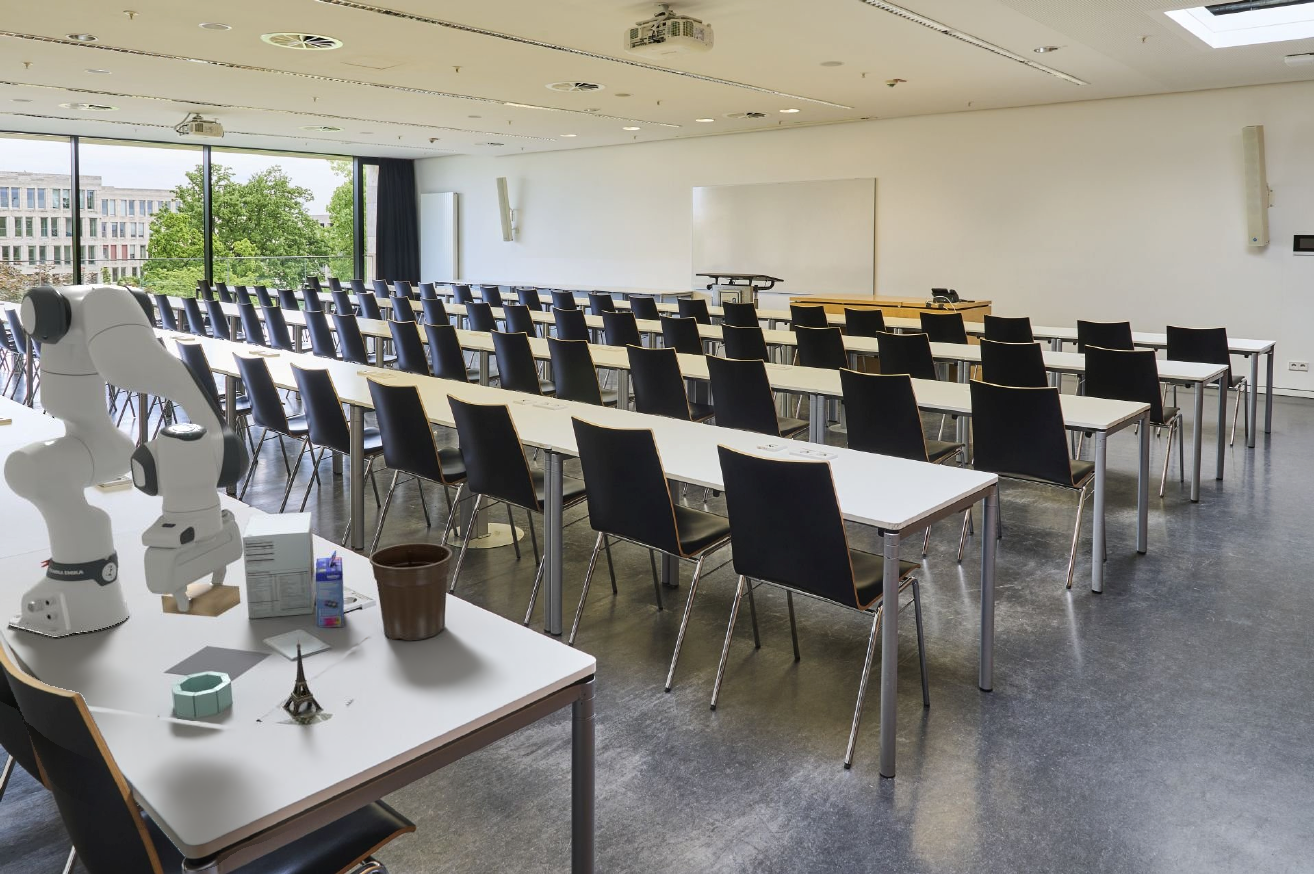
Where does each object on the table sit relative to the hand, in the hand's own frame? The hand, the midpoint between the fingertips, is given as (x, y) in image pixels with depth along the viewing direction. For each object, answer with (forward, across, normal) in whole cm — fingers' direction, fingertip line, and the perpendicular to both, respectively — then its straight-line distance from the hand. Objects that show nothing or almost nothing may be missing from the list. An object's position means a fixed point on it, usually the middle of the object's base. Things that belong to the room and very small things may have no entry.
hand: (201, 601), depth 167 cm
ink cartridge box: (+18, -38, 0) cm, 43 cm away
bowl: (+18, +2, 0) cm, 19 cm away
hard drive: (+19, -24, +1) cm, 31 cm away
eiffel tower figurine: (+20, -1, +16) cm, 25 cm away
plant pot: (+19, -38, +19) cm, 46 cm away
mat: (+18, -13, -8) cm, 24 cm away
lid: (+1, 0, 0) cm, 1 cm away
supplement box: (+18, -45, -15) cm, 50 cm away
